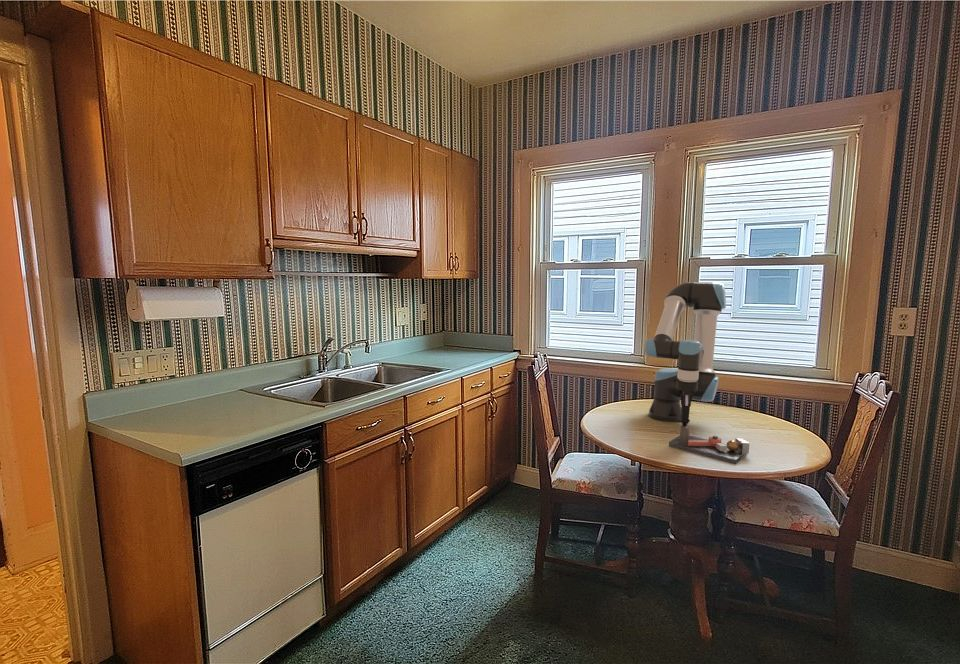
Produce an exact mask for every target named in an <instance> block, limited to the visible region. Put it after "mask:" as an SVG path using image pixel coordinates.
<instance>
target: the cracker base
mask: <svg viewBox="0 0 960 664" xmlns="http://www.w3.org/2000/svg"><path fill="white" fill-rule="evenodd" d="M679 439H680V434H679V435H678V436H676V437H674V438H672V439H671V440H670V441H669V442H668V446H669V447H671V448H674V449H679V450H682V451H686V452H690V453H693V454H697V455H700V456H704V457H708V458H712V459H715V460H719V461H723V462H726V463H730V464H733V465H737V464H738V462H739V461H741V460H742V458H744V457H745V456H746V455H747V454H749V451H750V442H749V441H747V440H745V439H743V437H740V438H739V437H736V438H735V439H734V440H733V439H731V440H728V441H727V442H726V443H725V442H724V443H723V444H725V445H726V446H727V451H719V450H718V449H717V448H716V447H713V446H682V445H680V444H679ZM689 440H709V438H708V439H707V438H703V437H699V436H695V435H690V434H689Z"/></svg>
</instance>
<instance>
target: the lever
mask: <svg viewBox="0 0 960 664" xmlns="http://www.w3.org/2000/svg"><path fill="white" fill-rule="evenodd" d="M679 435H680V439H679V444H680V445H682V446H713V447H716V448H717V449H718V450H719V451H727V446H726V445H725V444H726V443H724V444H723V443H722V438H720V437H719V436H717V435H712V436H709V437H708V440H689V435H690V426H689V425H688V426H680V425H679Z"/></svg>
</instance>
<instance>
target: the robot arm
mask: <svg viewBox="0 0 960 664" xmlns="http://www.w3.org/2000/svg"><path fill="white" fill-rule="evenodd" d="M726 299H727V297H726V289H725V285H724V284H723V283H721V282H714V281H712V282H711V281H710V282H708V281H705V282H704V281H701V282H700V281H699V282H698V281H697V282H695V281H693V282H692V281H687V282H682V283H680V284H678V285H676V286H675V287H673V288H672V289H671V290H670V291H669V292H668V293H667V294H666V296H665V298H664V300H663V306H664V307H663V311H662V314H661V317H660V319H659V323H658V325H657V328H656V330H655V331H656V332H655V334H654V337H653V338H648V339H647V340H646V341H645V345H644V353H645V355H646V356H647V357H650V358H661V359H670V360H671V359H673V360H677V361H678V362H677V367H676V368H675V367H674V368H673V367H669V368H660V369H659V370H656V372H655V374H654V383H653V384H654V387H653V389H654V390H653V400H652V402H651V405H650V408H649V410H648V416H649V417H650V418H651V419H654V420H657V421H661V422H665V423H666V422H668V423H676V422H677V423H679V427H680V426H688V427H689V423H690V421H691V420H690V419H689V418H690V409H691V408H690V407H691V405H692V401H693V400H694V401H701V402H712V401H714V400H715V398H716V397H715V396H716V394H717V392H718V391H717V390H718V388H719V381H720V377H718V376H716V375H717V373H716V371H715V370H714V369H713V367H714V366H713V365H714V357H715V356H714V353H715V343H716V332H717V331H716V330H717V321H718V316H719V315H721V314H722V311H723V310H725V309H726V306H727V301H726ZM686 308H693V313H694V314H695V315H696V317H695V325H694V326H695V328H694V338H693V339H682V340H674V338H675V335H676V332H677V328H678V324H679V321H680V320H681V319H680V318H681V315H682V313H683V311H684V310H685V309H686Z"/></svg>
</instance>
